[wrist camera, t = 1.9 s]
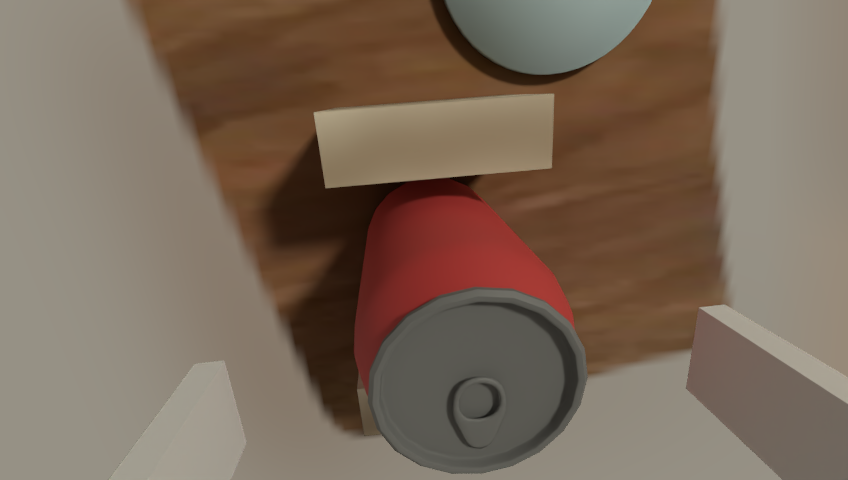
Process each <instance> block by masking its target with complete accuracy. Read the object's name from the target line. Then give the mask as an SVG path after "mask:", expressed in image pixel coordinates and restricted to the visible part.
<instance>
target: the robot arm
mask: <svg viewBox="0 0 848 480" xmlns="http://www.w3.org/2000/svg"><path fill="white" fill-rule="evenodd" d="M686 389H687V390H688V391H689V392H691V393H692V394H693V395H694V396H695V397H696V398H697V399H698V400H699V401H700V402H701V403H702V404H703V405H704V406H705V407H706V408H707V409H708V410H710V411H711V412H712V413H713V414H714V415H715V416H716V417H717V418H718V419H719V420H720V421H721V422H722V423H723V424H724V425H726V427H727V428H729V429H730V430H731V431H732V432H733V433H734V434H735V435H736V436H737V437H738V438H739V439H740V440H741V441H742V442H743V443H744V444H746V446H748V447H749V448H750V449H751V450H752V451H753V452H754V453H755V454H756V455H757V456H758V457H759V458H760V459H761V460H762V461H764V463H765V464H767V465H768V466H769V467H770V468H771V469H772V470H773V471H774V472H775V473H776V474H777V475H778V476H779V477H780V478H781V479H782V480H848V377H846V376H845V375H843V374H841V373H840V372H838V371H836V370H834V369H833V368H831V367H830V366H828V365H826V364H824V363H823V362H821V361H819V360H818V359H816V358H814V357H813V356H811V355H809V354H808V353H806V352H804V351H802V350H801V349H799V348H797V347H796V346H794V345H792V344H791V343H789V342H787V341H785V340H784V339H782V338H780V337H779V336H777V335H775V334H774V333H772V332H770V331H769V330H767V329H765V328H763V327H762V326H760V325H758V324H757V323H755V322H753V321H752V320H750V319H748V318H746V317H745V316H743V315H741V314H740V313H738V312H736V311H734V310H733V309H731V308H730V307H728V306H726V305H717V306H708V307H699V310H698V316H697V323H696V329H695V335H694V342H693V348H692V354H691V360H690V367H689V373H688V379H687V386H686ZM246 443H247V442H246V439H245V435H244V431H243V427H242V424H241V420H240V417H239V413H238V409H237V405H236V402H235V398H234V394H233V391H232V387H231V383H230V379H229V376H228V372H227V369H226V365H225V361H216V362H207V363H199V364H194V365H193V367H192V368H191V369H190V371H189V372H188V373H187V375H186V376H185V378H184V379H183V380H182V381H181V383H180V384H179V385H178V387H177V388H176V389H175V391H174V392H173V394H172V395H171V396H170V398H169V399H168V400H167V402H166V403H165V404H164V406H163V407H162V408H161V410H160V411H159V413H158V414H157V415H156V416H155V418H154V419H153V420H152V422H151V423H150V424H149V426H148V427H147V428H146V430H145V431H144V433H143V434H142V435H141V437H140V438H139V439H138V440H137V442H136V443H135V444H134V446H133V447H132V448H131V450H130V451H129V453H128V454H127V455H126V457H125V458H124V459H123V461H122V462H121V463H120V465H119V466H118V467H117V469H116V470H115V471H114V473H113V474H112V475H111V477H110V478H109V479H108V480H231V479H232V476H233V474H234V472H235V469H236V467H237V464H238V462H239V460H240V457H241V455H242V452H243V450H244V447H245V445H246Z"/></svg>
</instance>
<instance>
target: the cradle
mask: <svg viewBox="0 0 848 480" xmlns="http://www.w3.org/2000/svg"><path fill="white" fill-rule="evenodd" d="M553 115H554V94H523V95H497V96H485V97H472V98H459V99H446V100H433V101H420V102H408V103H395V104H382V105H369V106H356V107H343V108H334V109H329V110H324V111H319V112H314V118H315V124H316V131H317V137H318V144H319V150H320V156H321V163H322V169H323V176H324V182H325V188H335V187H346V186H357V185H368V184H380V183H391V182H402V181H413V180H425V179H436V178H447V177H458V176H469V175H481V174H492V173H503V172H514V171H526V170H537V169H548V168H552V145H553ZM357 393H358V399H359V405H360V412H361V418H362V425H363V431H364V436H369V435H377V434H381V433H380V432H379V431H378V430H377V428H376V425H375V422H374V419H373V416H372V413H371V410H370V407H369V404H368V396H367V394H366V391H365V388H364V385H363V382H362V379H361V376H360V373H359V374H358V384H357Z"/></svg>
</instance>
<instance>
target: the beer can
mask: <svg viewBox="0 0 848 480" xmlns="http://www.w3.org/2000/svg"><path fill="white" fill-rule="evenodd" d="M354 356H355V360H356V364H357V368H358V370H359V373H360V376H361V379H362V382H363V385H364V388H365V391H366V394H367V396H368V404H369V407H370V410H371V413H372V416H373V419H374V422H375V425H376V428H377V430H378V431H379V432H380V433H381V434H382V436H383V437H384V438H385V439H386V440H387V441H388V443H389V444H390V445H391V446H392V447H393V449H394V450H395V451H397V452H399V453H400V454H402V455H403V456H405V457H407V458H408V459H410V460H412V461H413V462H416V463H417V464H419V465H420V466H424V467H428V468H432V469H436V470H440V471H444V472H448V473H452V474H454V473H455V474H456V473H486V472H490V471H493V470H498V469H502V468H506V467H510V466H513V465H515V464H517V463H519V462H521V461H523V460H525V459H527V458H529V457H530V456H533V455H535V454H536V453H538V452H540V451H541V450H542V449H543V448H545V446H547V445H548V444H549V443H550V442H551V441H553V440H554V439H555V438H556V437H557V436H558V435H559V434H560V433H562V432H563V431H564V429H565V428H566V426H567V425H568V423H569V422H570V420H571V419H572V417H573V415H574V414H575V412H576V411H577V409H578V408H579V406H580V404H581V400H582V396H583V393H584V389H585V385H586V381H587V378H588V377H587V367H586V357H585V349H584V347H583V345H582V343H581V341H580V339H579V338H578V336H577V334H576V332H575V328H574V320H573V313H572V311H571V308H570V306H569V303H568V301H567V299H566V297H565V295H564V293H563V291H562V289H561V287H560V285H559V284H558V282H557V280H556V278H555V276H554V274H553V273H552V272H551V271H550V270H549V269H548V268H547V267H546V265H545V264H544V263H543V262H542V261H541V260H540V259H539V258H538V257H537V256H536V255H535V254H534V253H533V252H532V251H531V250H530V249H529V248H528V246H527V245H526V244H525V243H524V242H523V241H522V240H521V239H520V238H519V237H518V236H517V235H516V234H515V233H514V232H513V231H512V230H511V229H510V227H509V226H508V225H507V224H506V223H505V222H504V221H503V220H502V219H501V218H500V217H499V216H498V215H497V214H496V213H495V212H494V211H493V210H492V208H491V207H490V206H489V205H488V204H487V203H486V202H485V201H484V200H483V199H482V198H481V197H480V196H478V195H477V194H476V193H475V192H474V191H473V190H472V189H471V188H469V187H468V186H466V185H464V184H461V183H459V182H456V181H454V180H452V179H449V178H436V179H425V180H413V181H409V182H407V183H405V184H403V185H402V186H400V187H398V188H397V189H395V190H393V191H392V192H390V193H389V194H388V195H387V196H386V198H385V199H384V200H383V201H382V202H381V203H380V205H379V206H378V207H377V208H376V210H375V212H374V215H373V217H372V220H371V222H370V225H369V227H368V234H367V241H366V248H365V255H364V262H363V269H362V276H361V284H360V291H359V298H358V305H357V312H356V319H355V335H354Z"/></svg>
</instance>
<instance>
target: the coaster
mask: <svg viewBox="0 0 848 480" xmlns="http://www.w3.org/2000/svg"><path fill="white" fill-rule="evenodd" d="M651 1H652V0H444V2H445V5H446V8H447V10H448V12H449V14H450V16H451V18H452V20H453V22H454V23H455V25H456V26H457V28H458V29H459V31H460V32H461V34H462V35H463V36H464V38H465V39H466V40H467V41H468V42H469V43H470V44H471V46H472V47H474V48H475V49H476V50H477V51H478V52H479V53H480V54H482V55H483V56H484V57H486V58H487V59H489V60H490V61H492V62H493V63H495V64H497V65H499V66H502V67H504V68H506V69H509V70H512V71H515V72H519V73H524V74H531V75H549V74H556V73H562V72H567V71H571V70H574V69H578V68H580V67H583V66H585V65H587V64H590V63H592V62H594V61H595V60H597V59H599V58H600V57H602V56H604V55H605V54H607V53H608V52H609V51H610V50H612V49H613V48H614V47H616V46H617V45H618V44H619V43H620V42H621V41H622V40H623V39H624V38H625V37H626V36H627V35H628V34H629V33H630V32H631V31H632V29H633V28H634V27H635V26H636V24H637V23H638V22H639V21H640V19H641V18H642V16H643V15H644V13H645V11H646V10H647V8H648V7H649V5H650V3H651Z"/></svg>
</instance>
